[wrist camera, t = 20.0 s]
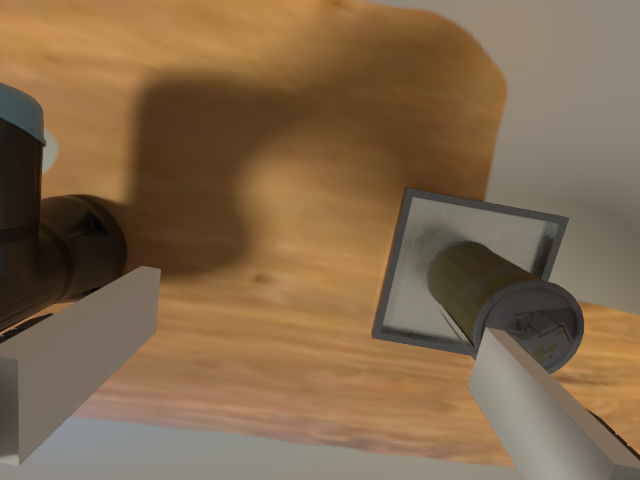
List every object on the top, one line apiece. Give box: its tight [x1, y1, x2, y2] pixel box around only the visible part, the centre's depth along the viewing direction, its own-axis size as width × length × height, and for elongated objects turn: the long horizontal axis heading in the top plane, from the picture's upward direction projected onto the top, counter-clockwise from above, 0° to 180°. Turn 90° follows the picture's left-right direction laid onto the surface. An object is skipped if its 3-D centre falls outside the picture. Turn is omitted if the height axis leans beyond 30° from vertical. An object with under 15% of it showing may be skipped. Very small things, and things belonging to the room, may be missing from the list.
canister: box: [427, 241, 584, 374], centre depth 41 cm, size 11×10×20 cm
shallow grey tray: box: [371, 187, 569, 355], centre depth 51 cm, size 22×22×2 cm
